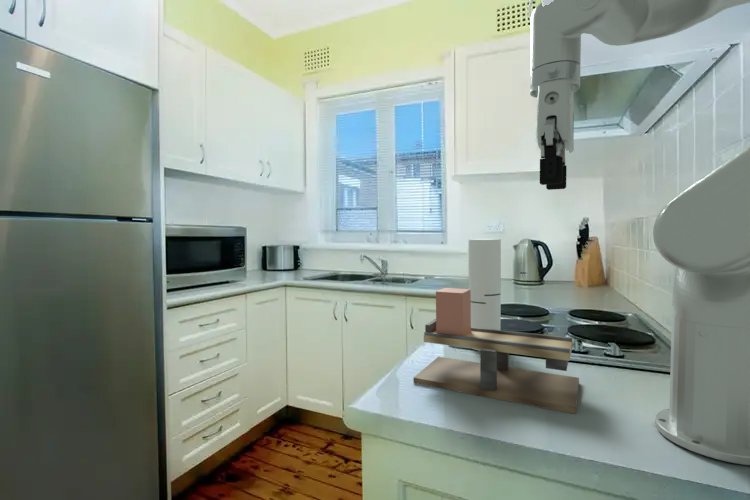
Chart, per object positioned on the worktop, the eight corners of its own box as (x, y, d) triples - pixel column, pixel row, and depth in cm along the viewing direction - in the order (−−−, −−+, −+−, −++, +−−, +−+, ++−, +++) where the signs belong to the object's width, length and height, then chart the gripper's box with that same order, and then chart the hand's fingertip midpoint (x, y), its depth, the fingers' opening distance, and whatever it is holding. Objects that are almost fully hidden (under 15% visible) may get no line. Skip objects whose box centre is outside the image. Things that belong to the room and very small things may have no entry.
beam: (572, 358, 68) (572, 329, 68) (569, 373, 61) (569, 341, 61) (438, 341, 80) (438, 316, 79) (423, 352, 73) (423, 325, 72)
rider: (470, 331, 75) (470, 289, 74) (463, 338, 70) (462, 293, 70) (445, 328, 77) (444, 287, 77) (436, 334, 73) (435, 291, 72)
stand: (578, 383, 70) (579, 341, 70) (575, 413, 59) (576, 363, 58) (438, 361, 83) (438, 325, 82) (413, 382, 71) (413, 341, 71)
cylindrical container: (504, 351, 89) (504, 239, 87) (472, 351, 89) (472, 239, 87) (495, 342, 96) (495, 238, 94) (465, 342, 96) (465, 238, 95)
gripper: (578, 57, 56) (576, 180, 57) (581, 93, 71) (580, 189, 72) (522, 68, 59) (521, 183, 60) (536, 100, 75) (536, 192, 75)
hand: (553, 186), depth 66 cm, fingers open, 9 cm apart
